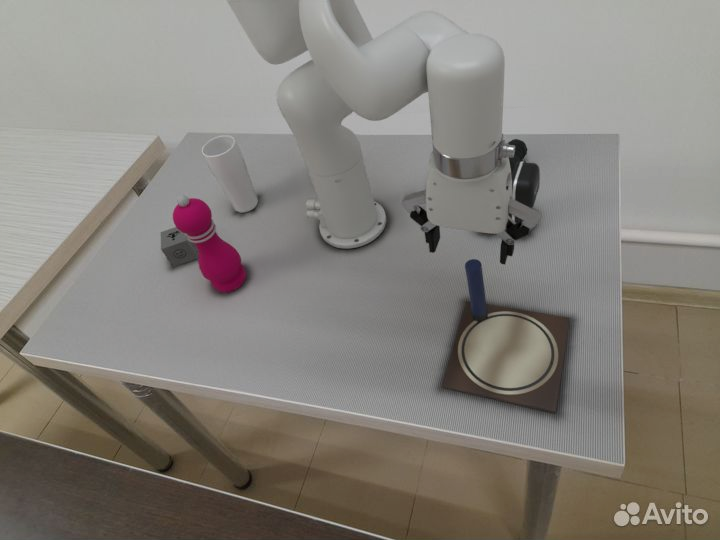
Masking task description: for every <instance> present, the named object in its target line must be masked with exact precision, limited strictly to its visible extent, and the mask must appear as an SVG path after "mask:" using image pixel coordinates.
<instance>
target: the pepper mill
mask: <svg viewBox="0 0 720 540" xmlns="http://www.w3.org/2000/svg"><path fill="white" fill-rule="evenodd" d="M176 200H177V201H176V202H177V204H176V206H175V207H174V209H173V211H172V220H173V224H174V226H175V227H177V228H178V230H180V231H181V232H183V233H185V236H186V237H187V239H188V240H189V241H190V242H192V243H194V244H195V245H196V247H197V250H198V267H199V270H200V272H201V275H202V276H203V278H205V279H206V280H208V281H210V283H211V285H212V286H213V288H214V289H215V290H216V291H217V292H220V293H230V292H234V291H235V290H237V289H239V288H240V287H241V286H242V285H243V284H244V283H245V281H246V279H247V271H246V270H245V268H244V265H243V264H242V257H241V255H240V253H239V252H238V250H237V249H236V248H235V247H234V246H233V245H232V244H230V243H228V242H226V241H225V240H224V239H222V238H221V237H220V236H219V235H218V233H217V224H216V223H215V221H214V220H213V219H212V217H213V214H212V210H211V208H210V206H209V205H208V203H206V202H205V201H204V200H202V199H201V198H196V197H191V198H190V197H188V196H187V195H184V194H181V195H179V196H177V199H176Z"/></svg>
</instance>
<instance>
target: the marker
mask: <svg viewBox="0 0 720 540" xmlns="http://www.w3.org/2000/svg"><path fill="white" fill-rule="evenodd" d="M464 269H465V275H466V282H467V289H468V295H469V301H470V302H471V309H472V315H473V319H474V320H475V321H478V322H482V321H485V320H486V319H487V317H488V314H487V305H486V304H487V298H486V297H487V296H486V291H485V290H486V289H485V283H484V273H483V265H482V262H481V261H480V260H479V259H476V258H472V259H468V260H467V261H466V262H465V264H464Z"/></svg>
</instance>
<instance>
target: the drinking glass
mask: <svg viewBox="0 0 720 540" xmlns="http://www.w3.org/2000/svg"><path fill="white" fill-rule="evenodd" d="M201 154H202V157H203V159H204V162H205V163H206V165H207V167H208V169H209V170H210V172H211V174H212V176H213V177H214V178H215V180H216V181H217V183H218V185H219V186H220V188H221V189H222V191H223V192H224V194H225V195H226V197H227V199H228V200H229V202H230V203H231V205H232V208H233V209H234V211H236V212H238V213H243V214H244V213H248V212H251V211H252V210H254V209H255V208H256V207H257V205H258V204H259V198H258V195H257V193H256V190H255V188H254V184H253V182H252V179H251V176H250V173H249V170H248V167H247V164H246V161H245V158H244V156H243V152H242V151H241V148H240V146H239V144H238V142H237V141H236V138H234V137H233V135H232V136H231V135H227V134H226V135H225V134H224V135H218V136H215V137H213V138H211V139H209V140H208V141H206V142H205V143H204V145H203V146H202V148H201Z"/></svg>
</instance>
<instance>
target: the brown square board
mask: <svg viewBox="0 0 720 540" xmlns="http://www.w3.org/2000/svg"><path fill="white" fill-rule="evenodd" d="M486 305H487V314H488V317H487V319H486V320H485V321H482V322H478V321H475V320H474V319H473V315H472V309H471V302H470V300H466V301H465V304H464V309H463V310H462V314H461V318H460V321H459V324H458V328H457V332H456V334H455V338H454V342H453V345H452V348H451V351H450V355H449V358H448V362H447V365H446V369H445V372H444V376H443V379H442V382H441V388H444V389H447V390H452V391H456V392H461V393H465V394H469V395H474V396H478V397H483V398H486V399H490V400H491V399H492V400H495V401H500V402H505V403H508V404H513V405H517V406H521V407H526V408H529V409H535V410H538V411H544V412H547V413H551V414H556V413H557V408H558V401H559V394H560V386H561V380H562V374H563V367H564V360H565V354H566V347H567V340H568V333H569V326H570V317H568V316H561V315H555V314H550V313H542V312H536V311H531V310H524V309H518V308H511V307H507V306H501V305H495V304H488V303H486Z"/></svg>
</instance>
